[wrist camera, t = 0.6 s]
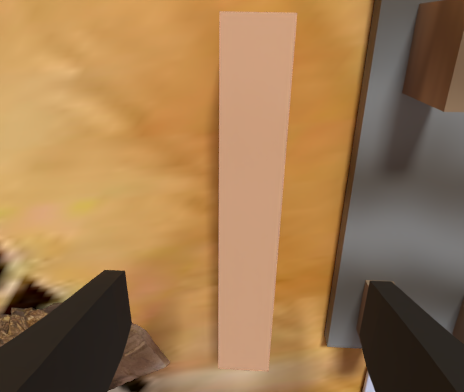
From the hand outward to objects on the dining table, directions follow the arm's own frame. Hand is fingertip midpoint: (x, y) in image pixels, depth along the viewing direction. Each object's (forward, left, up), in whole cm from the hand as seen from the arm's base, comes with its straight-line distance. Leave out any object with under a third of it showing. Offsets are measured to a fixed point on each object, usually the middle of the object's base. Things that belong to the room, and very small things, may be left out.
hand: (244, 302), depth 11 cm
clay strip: (0, 0, -10) cm, 10 cm away
